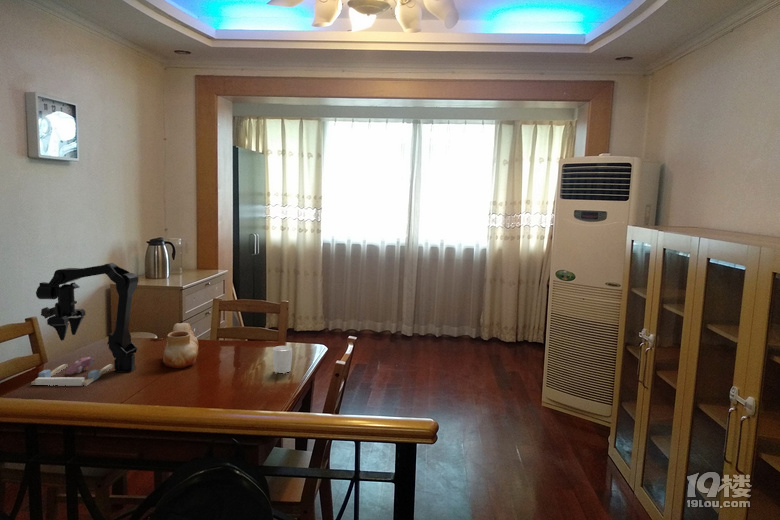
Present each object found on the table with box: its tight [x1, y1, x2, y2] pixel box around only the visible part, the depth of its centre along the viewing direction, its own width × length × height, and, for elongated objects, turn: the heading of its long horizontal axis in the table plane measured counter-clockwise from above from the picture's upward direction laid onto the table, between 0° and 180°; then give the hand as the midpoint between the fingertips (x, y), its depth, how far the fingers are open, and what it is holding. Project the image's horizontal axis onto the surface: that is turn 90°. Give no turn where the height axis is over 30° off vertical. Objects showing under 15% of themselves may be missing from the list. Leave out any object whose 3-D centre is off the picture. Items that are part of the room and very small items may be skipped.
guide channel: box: [30, 363, 114, 387], centre depth 197 cm, size 20×22×3 cm
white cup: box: [272, 345, 293, 373], centre depth 211 cm, size 8×8×10 cm
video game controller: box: [65, 356, 96, 375], centre depth 202 cm, size 10×5×7 cm, turn 169°
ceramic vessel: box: [162, 322, 199, 369], centre depth 221 cm, size 14×26×15 cm, turn 18°
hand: (68, 337), depth 205 cm, fingers open, 9 cm apart
